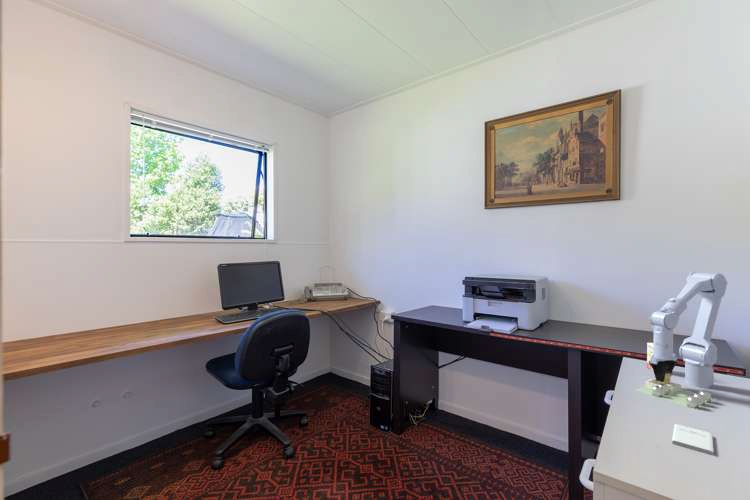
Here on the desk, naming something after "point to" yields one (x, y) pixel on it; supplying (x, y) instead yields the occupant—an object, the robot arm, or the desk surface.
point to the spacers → (691, 400)
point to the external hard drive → (693, 439)
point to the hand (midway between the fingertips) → (662, 380)
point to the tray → (671, 388)
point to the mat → (673, 396)
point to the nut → (666, 378)
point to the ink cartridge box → (649, 354)
